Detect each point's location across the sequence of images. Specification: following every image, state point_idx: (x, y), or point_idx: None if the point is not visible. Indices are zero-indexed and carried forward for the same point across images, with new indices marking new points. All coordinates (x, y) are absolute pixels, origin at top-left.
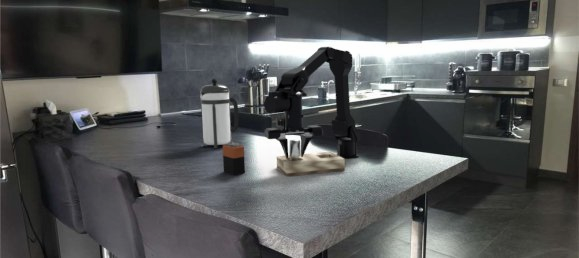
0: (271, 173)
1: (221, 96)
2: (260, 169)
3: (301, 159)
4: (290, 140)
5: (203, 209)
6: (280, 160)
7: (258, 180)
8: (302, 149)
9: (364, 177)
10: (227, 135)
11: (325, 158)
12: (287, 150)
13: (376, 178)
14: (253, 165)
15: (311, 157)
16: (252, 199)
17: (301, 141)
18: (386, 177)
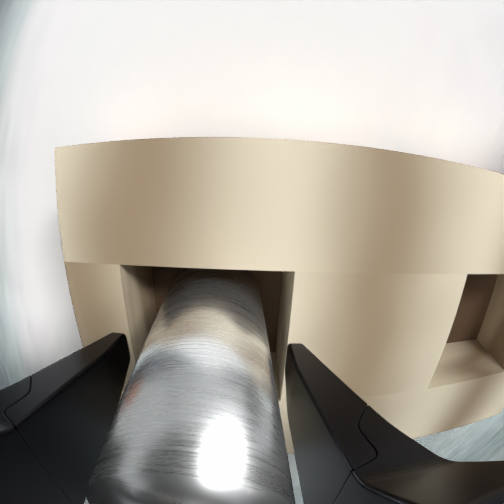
0: (57, 289)
1: None
2: (10, 163)
3: (286, 338)
4: (102, 494)
5: None
6: (77, 294)
7: (17, 369)
8: (296, 447)
9: (442, 453)
10: None
11: (446, 395)
12: (97, 444)
13: (456, 460)
14: (4, 47)
15: (389, 346)
16: None
17: (345, 485)
18: (481, 451)
